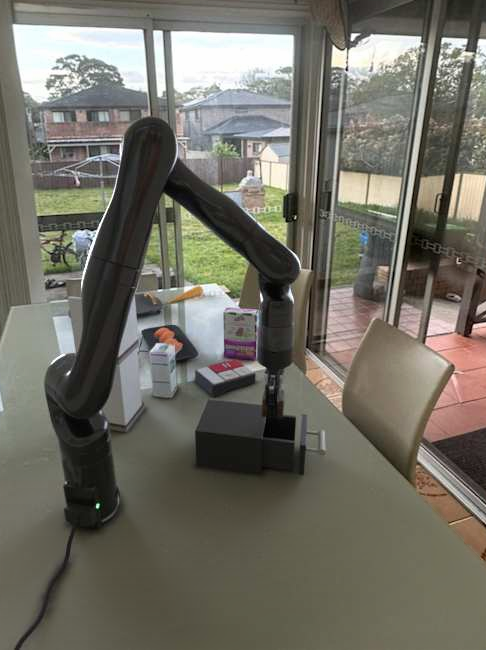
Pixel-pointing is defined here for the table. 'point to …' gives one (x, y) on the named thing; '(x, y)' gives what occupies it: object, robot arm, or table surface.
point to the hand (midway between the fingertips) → (273, 410)
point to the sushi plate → (169, 340)
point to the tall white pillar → (118, 371)
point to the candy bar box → (241, 333)
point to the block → (280, 405)
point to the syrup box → (163, 370)
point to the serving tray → (146, 303)
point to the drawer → (287, 443)
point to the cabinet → (230, 437)
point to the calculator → (224, 377)
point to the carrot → (189, 294)
